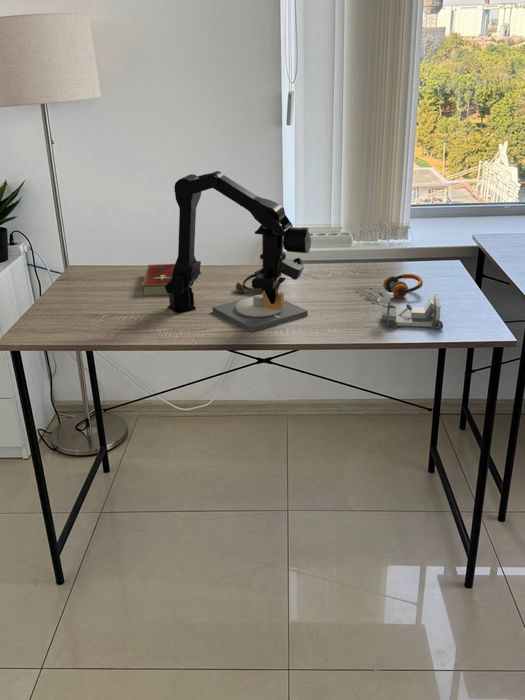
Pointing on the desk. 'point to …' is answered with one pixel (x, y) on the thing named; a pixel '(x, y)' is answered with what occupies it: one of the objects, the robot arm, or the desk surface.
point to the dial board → (259, 323)
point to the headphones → (395, 286)
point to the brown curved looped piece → (240, 287)
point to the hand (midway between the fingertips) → (272, 303)
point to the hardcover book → (157, 279)
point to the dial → (260, 305)
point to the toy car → (411, 313)
